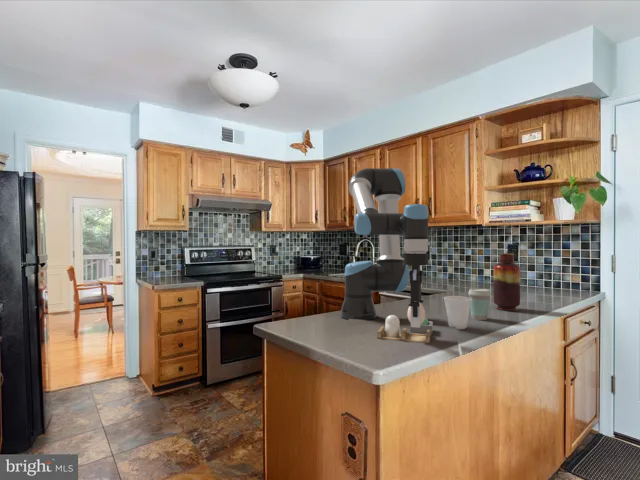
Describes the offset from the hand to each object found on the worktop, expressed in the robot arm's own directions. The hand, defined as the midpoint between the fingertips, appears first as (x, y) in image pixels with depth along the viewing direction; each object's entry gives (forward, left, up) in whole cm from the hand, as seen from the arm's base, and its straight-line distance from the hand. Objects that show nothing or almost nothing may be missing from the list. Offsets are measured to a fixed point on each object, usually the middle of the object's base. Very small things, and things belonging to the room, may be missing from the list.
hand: (416, 324), depth 114 cm
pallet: (-4, 0, -5) cm, 7 cm away
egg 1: (-8, 0, -4) cm, 9 cm away
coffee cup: (+22, +43, -6) cm, 48 cm away
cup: (+13, +24, -6) cm, 28 cm away
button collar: (+1, +9, -5) cm, 11 cm away
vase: (+36, +69, -6) cm, 78 cm away
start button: (+1, +9, -4) cm, 10 cm away
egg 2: (0, 0, -1) cm, 1 cm away
